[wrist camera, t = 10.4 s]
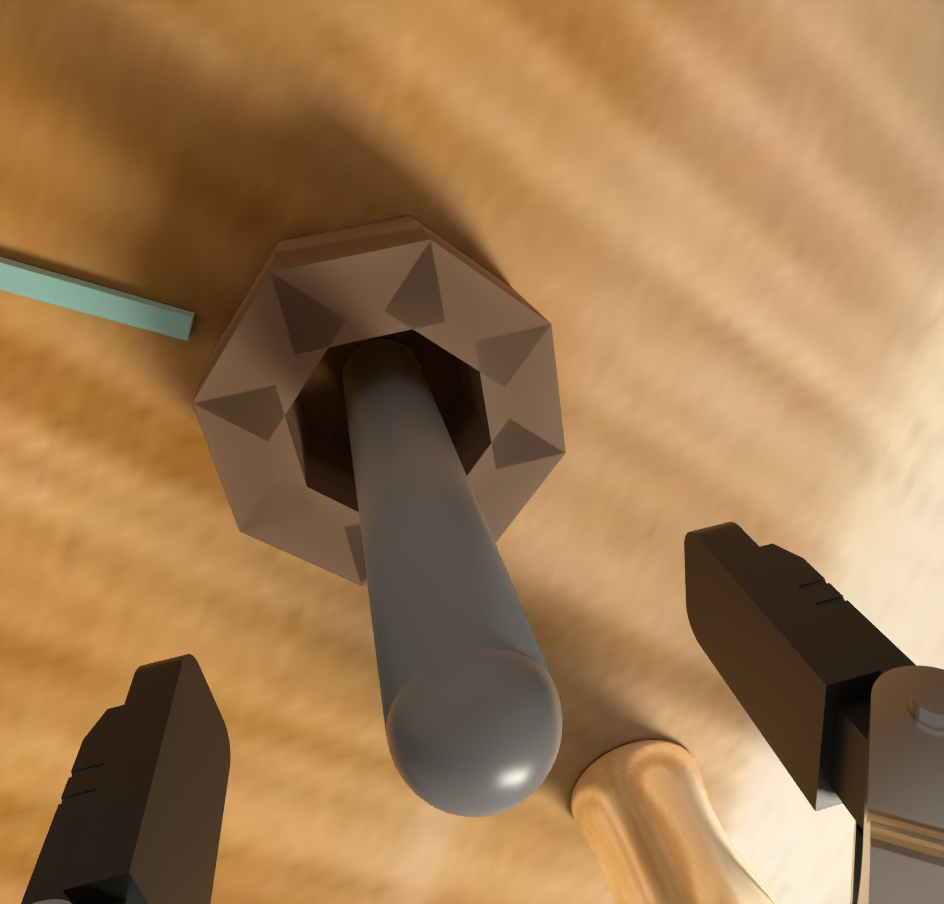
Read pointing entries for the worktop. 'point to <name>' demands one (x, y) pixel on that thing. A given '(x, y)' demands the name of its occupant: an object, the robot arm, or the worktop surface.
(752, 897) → the beer glass
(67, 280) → the teal thin bar
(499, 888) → the worktop surface
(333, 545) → the bead
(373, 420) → the grey rounded rod
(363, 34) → the worktop surface
